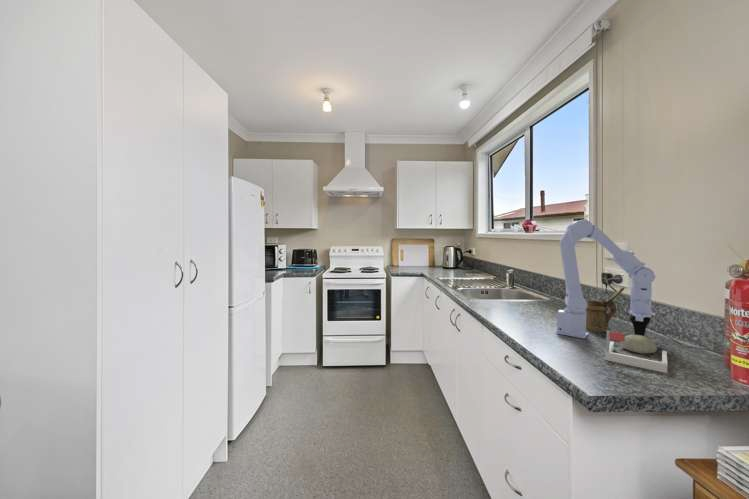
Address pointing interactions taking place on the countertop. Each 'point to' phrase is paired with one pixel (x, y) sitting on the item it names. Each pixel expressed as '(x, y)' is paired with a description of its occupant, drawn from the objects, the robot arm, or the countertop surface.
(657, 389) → the countertop surface
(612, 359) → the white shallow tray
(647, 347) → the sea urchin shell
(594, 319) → the wooden mug
